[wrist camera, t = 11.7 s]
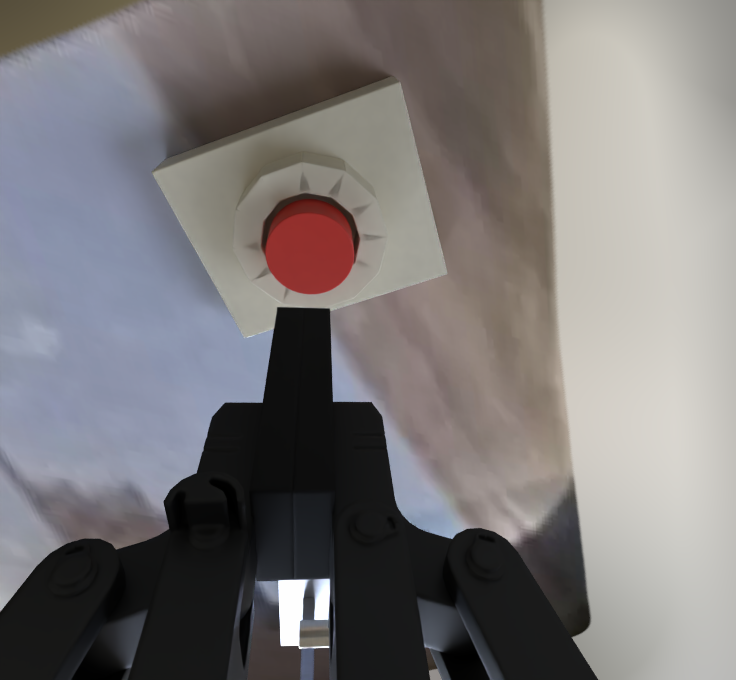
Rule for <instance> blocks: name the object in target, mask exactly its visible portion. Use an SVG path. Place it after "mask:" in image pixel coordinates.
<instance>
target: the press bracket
mask: <svg viewBox="0 0 736 680" xmlns="http://www.w3.org/2000/svg"><path fill="white" fill-rule="evenodd" d="M278 588H279V613H280V637H281V646H292V645H299V623H300V620H321V619H328V613H329V596H330V579H312V580H281V581H278ZM300 680H314V648H305V649H301V670H300Z"/></svg>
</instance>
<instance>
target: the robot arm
mask: <svg viewBox="0 0 736 680" xmlns="http://www.w3.org/2000/svg"><path fill="white" fill-rule="evenodd" d="M384 434H385V432H384V426H383V419H382V416H381V414H380V413H379V412H378V410H377V409H376V408H375V406H374V405H373V404H372V402H333V392H332V360H331V328H330V308H298V307H277V313H276V319H275V326H274V332H273V339H272V346H271V352H270V359H269V365H268V372H267V378H266V385H265V391H264V398H263V403H224V404H223V406H222V407H221V408H220V409H219V410H218V411H217V412H216V413H215V415H214V416H213V417H212V420H211V423H210V427H209V430H208V434H207V435H208V436H207V438H206V441H205V445H204V451H203V452H202V456H201V459H200V463H199V467H198V470H197V473H196V474H194V475H191V476H189V477H187V478H185V479H183V480H181V481H180V482H179V483H178V484H176V485H175V486H174V487H173V488H172V489H171V490H170V491H169V493H168V495H167V497H166V498H165V500H164V507H165V511H166V515H167V520H168V524H169V530H167V531H165V532H164V533H162V534H160V535H159V536H157V537H154V538H152V539H149V540H147V541H144V542H140V543H137V544H134V545H130V546H127V547H124V548H120V549H117V550H116V549H115V548H114V546H113V545H112V544H111V543H108V542H106V541H104V540H101V539H81V540H78V541H74V542H71V543H67V544H65V545H64V546H62V547H60V548H58V549H57V550H55V551H53V552H52V553H50V554H49V555H48V556H47V557H46V558H45V559H44V560H43V561H42V562H41V563H40V564H39V565H38V566H36V568H35V569H34V570H33V571H32V573H31V574H30V575H29V577H28V578H27V579H26V580H25V582H24V583H23V584H22V585H21V587H20V588H19V589H18V590H17V592H16V593H15V594H14V595H13V597H12V598H11V599H10V600H9V602H8V603H7V604H6V606H5V607H4V608H3V609H2V611H1V612H0V680H247V675H248V666H249V657H250V648H251V639H252V630H253V621H254V612H255V610H254V599H253V595H254V586H255V578H256V581H281V580H312V579H330V596H329V613H328V628H329V673H330V680H430V676H429V670H428V663H427V657H426V651H425V647H428V648H430V651H431V653H432V656H433V658H434V661H435V663H436V666H437V668H438V671H439V673H440V676H441V678H442V680H598V679H597V677H596V676H595V674H594V672H593V671H592V669H591V668H590V666H589V664H588V663H587V661H586V660H585V658H584V657H583V655H582V653H581V652H580V650H579V649H578V647H577V645H576V644H575V642H574V641H573V639H572V638H571V636H570V634H569V633H568V631H567V630H566V628H565V626H564V625H563V623H562V622H561V620H560V619H559V617H558V615H557V614H556V612H555V611H554V609H553V607H552V606H551V604H550V603H549V601H548V600H547V598H546V596H545V595H544V593H543V592H542V590H541V588H540V587H539V585H538V584H537V582H536V581H535V579H534V577H533V576H532V574H531V573H530V571H529V569H528V568H527V566H526V565H525V563H524V562H523V560H522V558H521V557H520V555H519V554H518V552H517V551H516V550H515V548H514V547H513V546H512V545H511V544H510V543H509V542H508V540H506V539H505V538H503V537H502V536H500V535H498V534H497V533H495V532H493V531H489V530H485V529H482V528H474V529H466V530H464V531H462V532H460V533H458V534H456V535H455V537H454V538H453V539H450V538H446V537H442V536H439V535H435V534H432V533H429V532H426V531H423V530H421V529H419V528H417V527H415V526H414V525H412V524H411V523H409V522H408V521H407V520H406V519H405V518H404V517H403V516H402V514H401V512H400V511H399V509H398V507H397V504H396V501H395V497H394V490H393V484H392V477H391V471H390V465H389V458H388V452H387V445H386V439H385V435H384Z"/></svg>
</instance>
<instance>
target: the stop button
mask: <svg viewBox="0 0 736 680" xmlns="http://www.w3.org/2000/svg"><path fill="white" fill-rule="evenodd" d="M265 256H266V262H267V265H268V267H269V270H270V271H271V273H272V275H273V276H274V277H275V279H276V280H277V281H278V282H279V283H281V284H282V285H283V286H285V287H286V288H288V289H290V290H292V291H294V292H297V293H302V294H309V295H310V294H321V293H325V292H328V291H330V290H332V289H334V288H336V287H337V286H339V285H340V284H341V283H342V282H343V281H344V280H345V279H346V278H347V276H348V275H349V273H350V271H351V269H352V266H353V263H354V245H353V238H352V231H351V228H350V225H349V223H348V221H347V219H346V218H345V216H344V215H343V214H342V213H341V212H340V211H339V210H338V209H337V208H336V207H334V206H333V205H331V204H329V203H327V202H324V201H321V200H317V199H302V200H297V201H294V202H292V203H290V204H288V205H286V206H285V207H283V208H282V209H281V210H280V211H279V212H278V213H277V214H276V216H275V217H274V219H273V221H272V223H271V226H270V230H269V234H268V238H267V242H266V247H265Z"/></svg>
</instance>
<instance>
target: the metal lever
mask: <svg viewBox="0 0 736 680" xmlns="http://www.w3.org/2000/svg"><path fill="white" fill-rule="evenodd" d="M327 647H329V628H328V619H321V620H300V623H299V648H300V649H305V648H327Z"/></svg>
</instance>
